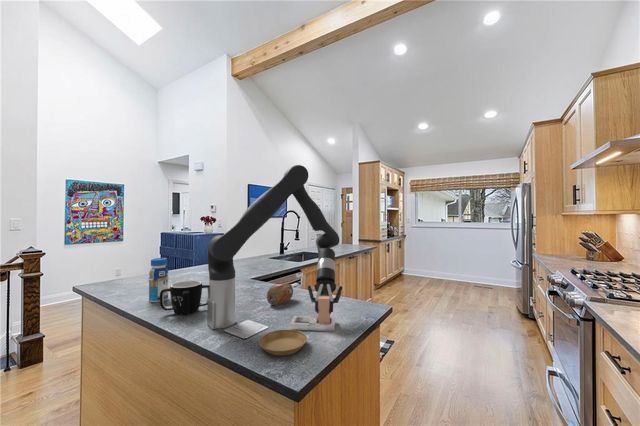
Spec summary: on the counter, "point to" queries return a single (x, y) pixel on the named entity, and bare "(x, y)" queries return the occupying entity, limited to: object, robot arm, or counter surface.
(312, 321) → the grey flat frame
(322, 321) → the peg
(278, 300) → the tin
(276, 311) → the counter surface
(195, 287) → the mug
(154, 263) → the beverage bottle
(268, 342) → the plant saucer
